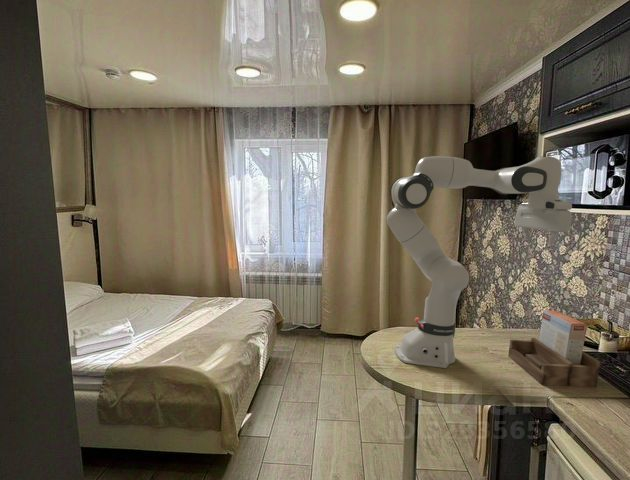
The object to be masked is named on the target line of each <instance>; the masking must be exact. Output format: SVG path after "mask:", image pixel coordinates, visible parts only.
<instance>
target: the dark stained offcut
mask: <svg viewBox="0 0 630 480" xmlns="http://www.w3.org/2000/svg"><path fill="white" fill-rule="evenodd" d="M526 358H527V359H528V360H529V361H531V362H532V363H533V364H535V365H536V366H537V367H538V368H540V369H541V367H542V364H550V363H549V362H547V361H546V360H545V359H543V358H542V357H540V356H539V355H537V354H526Z"/></svg>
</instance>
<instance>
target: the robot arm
mask: <svg viewBox="0 0 630 480" xmlns="http://www.w3.org/2000/svg"><path fill="white" fill-rule="evenodd" d="M561 178H562V163H561V160H559V159H558V158H556V157H552V156H537V157H536V158H534V159H533V160H532V161H529V162H527V163H524V164H522V165H519V166H512V167H501V168H500V169H499V168H498V169H496V170H488V169H480V168H479V169H478V168H474V166H473V164H472V162H470V160H467V159H465V158H461V157H455V156H442V155H440V156H439V155H437V156H436V155H434V156H433V155H431V156H425V157H422V158H421V159H419V160H418V162H417V164H416V165H415V169H414V173H413V174H412V175H409V176H402V177H401V176H400V177H399V178H397V179H396V180H394V182H393V183H391V186H390V189H389V193H390V195H389V196H390V200H391V206H392V207H393V208H392V209H391V210H390V211H389V212H388V214H387V215H386V224H387V226H388V227H389V229H390V231H391V232H392V234H393V235H394V237H395V239H396V240H397V241H398V242H399V244H401V246H402V247H403V248H404V250H405V251H406V252H407V253H408V254H409V255H410V257H411V258H412V259H413V261H414V263H415V264H416V265H417V267H418V268H419V270H420V271H421V272H422V274H423V275H424V276H425V278H426V279H427V280H429V281H430V282H431V288H430V291H429V293H428V296H426V298H425V301H424V312H423V318H422V319H420V318H419V317H417V316H416V317H415V318H414V322H415V323H416V324H417V327H416V328H415V329H412V330H411V331H409V332H407V333H405V334H404V335H403V336H402V339H401V342H400V344H396V345H395V347H394V353H395V355H396V357H397V358H398V359H399V360H400V361H401V362H403V363H406V364H412V365H418V366H419V365H420V366H425V367H426V366H427V367H435V368H443V369H446V368H448V367H449V366H450V365H452V364H454V363H455V361H456V355H455V348H454V338H455V333H456V322H455V321H456V320H455V319H456V309H457V305H458V300H459V298H460V295H461V292H462V291H463V290H464V289H466V288H467V286H468V284H469V281H470V275H469V272H468V270H467V269H466V267H464V265H463V264H461V263H460V262H459V261H457V260H454V259H453V258H451V257H450V256H447V254H446V253H445V252H444V251H443V249H442V247H441V246H440V244H439V241H438V239H437V238H436V236H435V235H434V234H433V233H432V231H431V230H430V229H429V228H428V227H427V226H426V224H425V222H424V221H423V220H422V219H421V218H420V216H419V215H418V212H417V209H419V208H420V209H421V207H423V206H425V205H426V204H427V202H428V201H429V199H430V196H431V194H432V191H433V189H434V188H438V189H439V188H440V189H447V190H448V189H451V190H452V189H454V190H455V189H464V188H467V187H469V186H470V187H471V186H473V187H480V188H481V187H482V188H488V189H491V190H493V191H495V192H496V193H498V194H500V195H509V194H510V195H511V194H513V195H514V194H516V195H517V194H519V195H520V194H527V193H528V202H522V203H520V205H518V207H517V210H516V214H515V218H514V225H515V226H514V227H517V228H522V229H521V230H522V233H523V236H524V237H523V239H524V241H531V240H532V235H530V230H531V229H534V230H539V231H541V230H543V231H549V235H550V236H549V237H548V238H546V242H545V243H546V244H547V245H553V244H555V240H556V238H557V237H559V233H568V232H569V230H570V231H571V227H572V226H571V225H572V212H571V211H570V210H572V209H573V205H572V203H570V202H568V201H565V200H563V199H560V194H559V193H560V192H559V188H560V185H561V180H562V179H561Z"/></svg>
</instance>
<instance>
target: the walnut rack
mask: <svg viewBox="0 0 630 480" xmlns="http://www.w3.org/2000/svg"><path fill="white" fill-rule="evenodd" d="M508 347H509V348H508V355H507V356H508V358H509V359H511V360H512V361H513V362H514V363H516V364H517V365H518V366H519V367H520V368H521V369H522V370H524V371H525V372H526V373H527V374H528V375H529V376H531V377H532V378H533V379H534V380H536V382H537V383H539V384H540V385H541V386H559V387H581V388H582V387H583V388H585V387H586V388H597V385H598V379H599V374H600V367H601V361H600V360H598V359H596V358H595V357H593V356H591V355H589V354H588V353H586V352H585V351H584V350H583V351H582V357H581V363H580V365H573V363H571V362H570V361H568V360H567V359H565V358H564V357H562V356H561V355H559V354H558V353H556V352H555V351H553V350H552V349H550V348H549V347H547V346H546V345H544V344H543V343H541V342H540V341H539V339H537V338H535V337H531V339H530V340H529V339H509V346H508ZM526 354H537V355H539V356H540V357H542V358H543V359H545V360H546V361H547V362H549V363H550V364H542V367H541V369H540V368H538V367H537V366H536V365H535V364H533V363H532V362H531V361H529V360H528V359H527V358H526Z"/></svg>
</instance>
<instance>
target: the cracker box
mask: <svg viewBox="0 0 630 480" xmlns="http://www.w3.org/2000/svg"><path fill="white" fill-rule="evenodd" d="M541 319H542V320H541V326H540V327H541V328H540V331H539V332H540V333H539V337H538V338H539V339H538V341H540V342H541V343H543V344H544V345H546V346H547V347H549V348H550V349H552V350H553V351H555V352H556V353H558V354H559V355H561V356H562V357H564V358H565V359H567V360H568V361H570V362H571V363H573V365H580V363H581V357H582V351H583V352H584V346H585V345H584V344H585V340H586V339H585V338H586V333H587V329H588V324H586V323H584V322H582V321H580V320H577V319H575V318H574V317H572V316H569V315H567V314H565V313H563V312H561V311H559V310H548V309H545V310H543V312H542V318H541Z"/></svg>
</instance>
